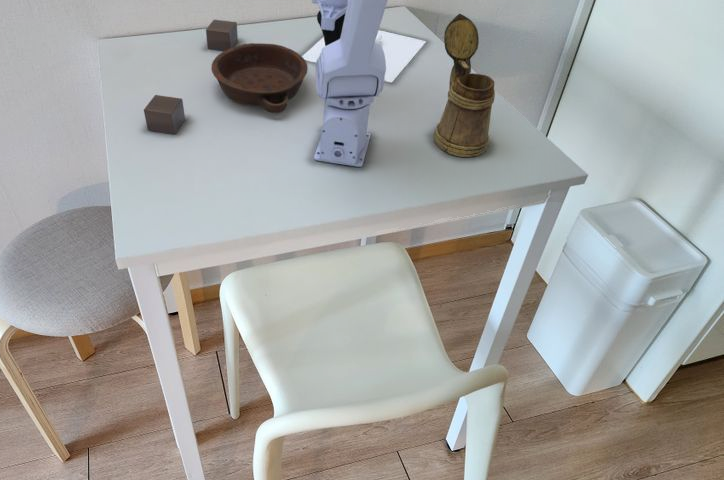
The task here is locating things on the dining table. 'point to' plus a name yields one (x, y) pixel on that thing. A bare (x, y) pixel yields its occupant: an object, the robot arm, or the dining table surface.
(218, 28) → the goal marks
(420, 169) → the dining table surface
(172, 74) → the dining table surface
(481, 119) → the wooden mug
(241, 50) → the dish
